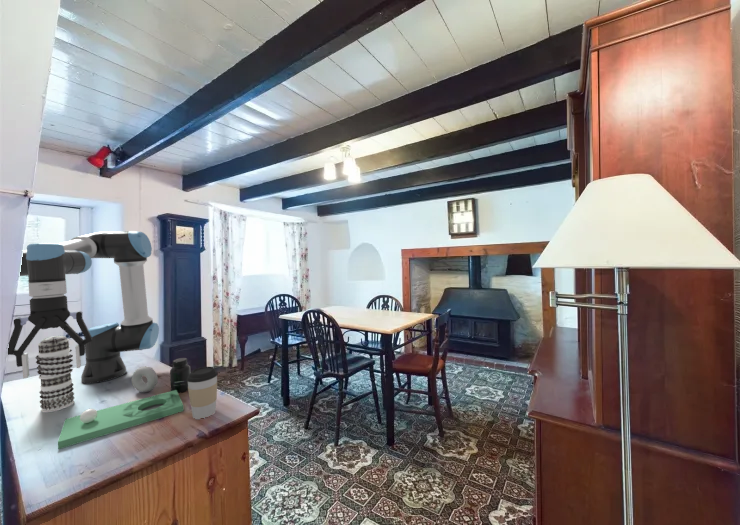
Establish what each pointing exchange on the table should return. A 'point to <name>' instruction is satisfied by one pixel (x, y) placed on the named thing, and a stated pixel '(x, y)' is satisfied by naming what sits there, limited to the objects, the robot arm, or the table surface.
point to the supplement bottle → (179, 375)
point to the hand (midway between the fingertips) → (53, 371)
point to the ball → (88, 415)
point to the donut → (138, 381)
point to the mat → (120, 418)
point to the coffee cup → (202, 391)
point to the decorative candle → (55, 373)
